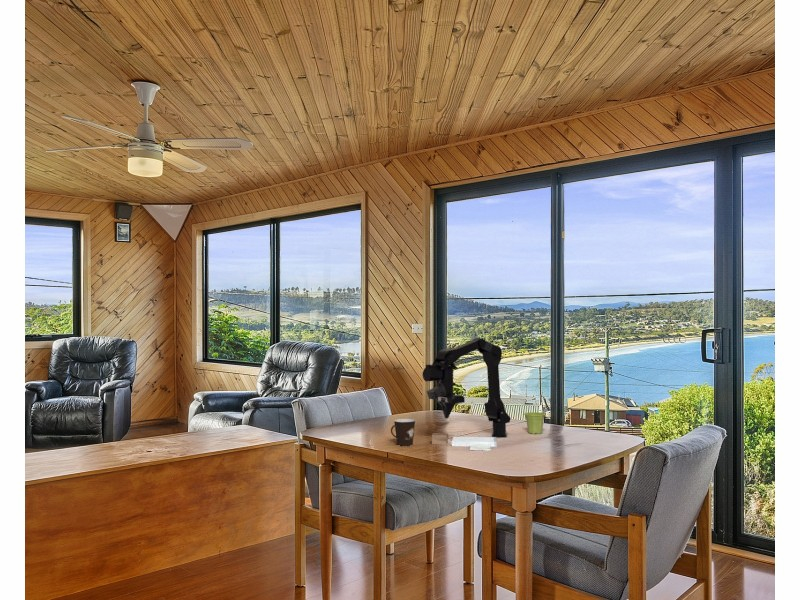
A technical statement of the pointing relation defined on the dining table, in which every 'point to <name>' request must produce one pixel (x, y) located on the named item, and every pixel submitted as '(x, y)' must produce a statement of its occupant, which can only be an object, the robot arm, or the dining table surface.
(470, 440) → the channel
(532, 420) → the plant pot
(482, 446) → the coaster
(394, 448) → the dining table surface
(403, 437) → the coffee mug
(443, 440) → the block
